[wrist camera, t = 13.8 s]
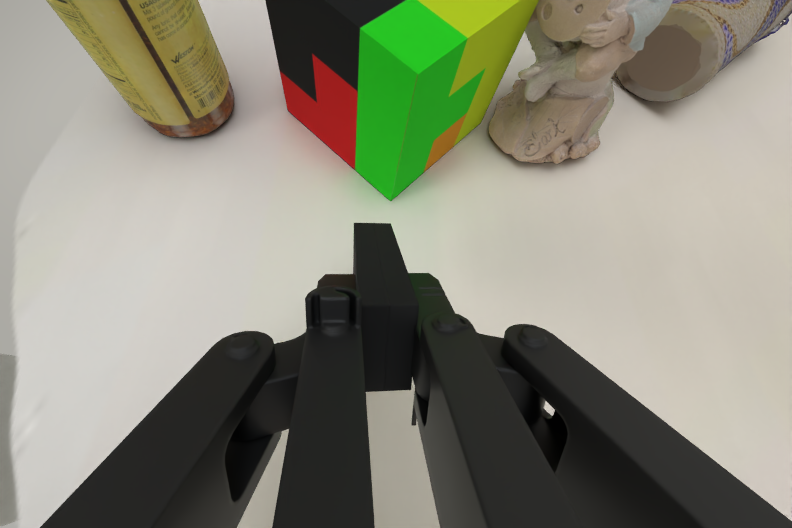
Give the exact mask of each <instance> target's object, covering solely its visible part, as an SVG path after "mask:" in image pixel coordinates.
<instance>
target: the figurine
mask: <svg viewBox="0 0 792 528" xmlns="http://www.w3.org/2000/svg"><path fill="white" fill-rule="evenodd" d="M672 2H673V0H539V1H538V3H537V5H536V7H535V10H534V12H533V14H532V16H531V18H530V20H529V22H528V24H527V26H526V29H525V33H526V35H527V37H528V40H529V41H530V43H531V46H532V50H534V52H535V55H536V62H535V64H533V65H531V66H530V67H529V68H527V69H524V70H522V71H520V72H519V73H518V76H519V78H520V80H517V81H515V83H514V85H513V91H512V92H511V93H510V94H508V95H507V96H505V97H503V98H502V99H500V100H499V101H498V103H497V106H496V111H495V114H494V116H493V117H492V119H491V121H490V125H489V134H490V136H491V138H492V139H493V141H494V142H495V143H496V144H497V145H498V146H499V147H500V148H501V149H502V150H503V151H504V152H505V153H507V154H509V153H511V154H512V156H513V157H514V158H515V159H517V160H519V161H527V162H530V163H531V162H532V163H539V162H541V163H543V162H553V163H555V164H559V163H561V162H562V161H563V160H565V159H567V158H573V159H576V158H579V157H585V156H586V155H588V154H589V153H590V152H592V151H594V150H596V149H597V148H598V147H599V145H600V141H599V137H598V129H599V128H600V126H601V125H602V123H603V121H604V120H605V118H606V116H607V114H608V112H609V111H610V109H611V107H612V105H613V102H614V99H613V96H614V93H613V87H612V83H611V77H612V76H613V74H614V72H615V71H616V70H617V68H618V67H619V65H620V64H621V63H623V62H627V61H628V60H630V59H632V58H633V57H634V56H635V54H636V53H637V51H639V50H642V49H643V47H644V42H645V37H647V36H648V35H649V34H650V33H651V32H652V31H653V30H654V29H655V28H656V27H657V26H658V25H659V23H660V22H661V21H662V19H663V18H664V17H665V15H666V13H667V12H668V10H669V8H670V6H671V4H672Z"/></svg>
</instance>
